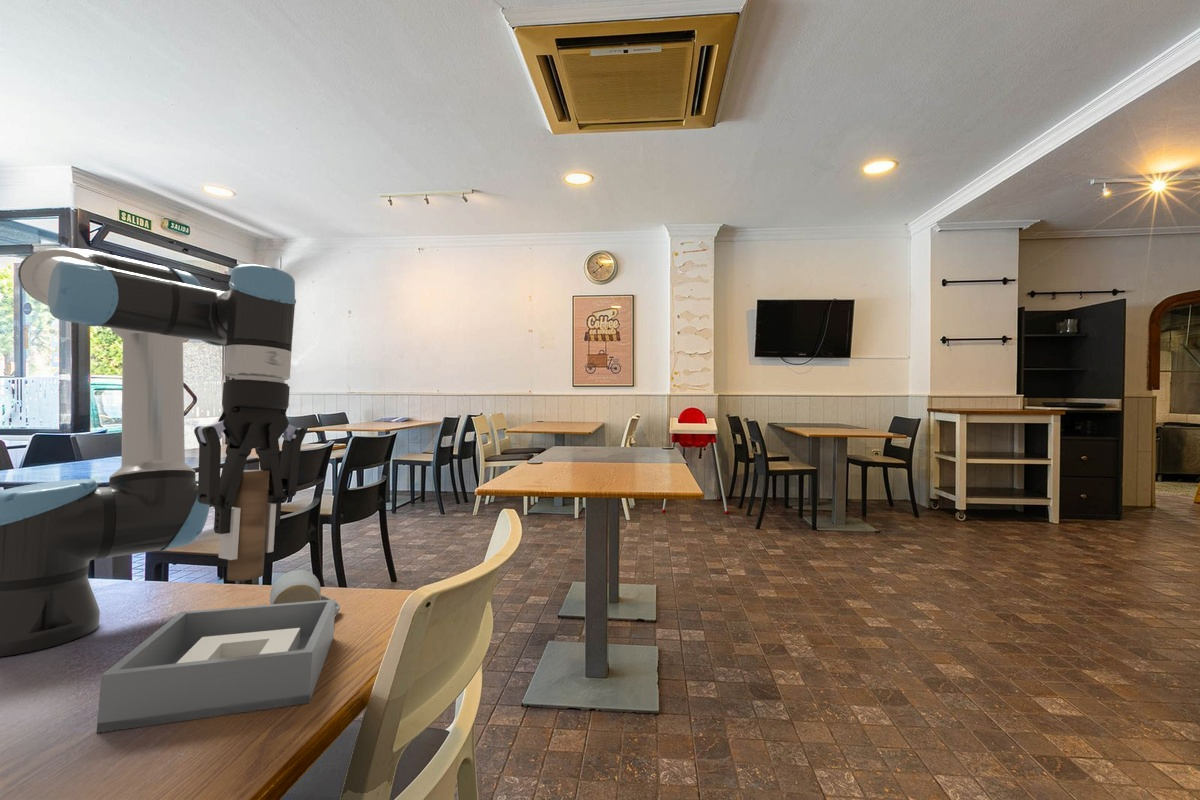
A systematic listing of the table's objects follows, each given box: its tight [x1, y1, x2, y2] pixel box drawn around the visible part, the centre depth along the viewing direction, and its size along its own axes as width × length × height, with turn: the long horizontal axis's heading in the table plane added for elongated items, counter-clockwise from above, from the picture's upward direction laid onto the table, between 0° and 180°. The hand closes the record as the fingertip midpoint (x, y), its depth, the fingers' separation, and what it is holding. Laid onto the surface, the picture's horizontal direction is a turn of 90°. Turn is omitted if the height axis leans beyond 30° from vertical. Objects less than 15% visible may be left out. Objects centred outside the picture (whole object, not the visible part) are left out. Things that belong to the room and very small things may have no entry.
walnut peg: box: [226, 469, 270, 582], centre depth 68 cm, size 4×4×14 cm
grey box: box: [96, 598, 336, 734], centre depth 67 cm, size 20×20×6 cm
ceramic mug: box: [269, 569, 341, 616], centre depth 88 cm, size 11×8×8 cm
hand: (246, 554), depth 68 cm, fingers closed on walnut peg, 4 cm apart
